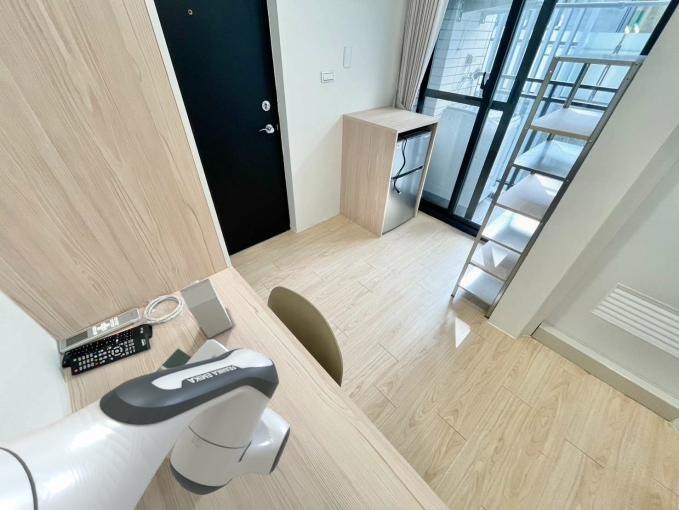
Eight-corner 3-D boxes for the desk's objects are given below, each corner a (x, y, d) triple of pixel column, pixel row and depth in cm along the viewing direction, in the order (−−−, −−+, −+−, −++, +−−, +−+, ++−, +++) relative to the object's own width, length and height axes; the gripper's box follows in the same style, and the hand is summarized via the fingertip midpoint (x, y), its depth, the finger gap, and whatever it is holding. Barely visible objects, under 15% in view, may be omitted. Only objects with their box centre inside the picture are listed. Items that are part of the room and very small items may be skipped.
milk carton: (232, 326, 81) (212, 286, 68) (208, 338, 78) (182, 299, 65) (225, 310, 85) (204, 269, 72) (202, 321, 83) (176, 281, 69)
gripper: (242, 349, 54) (191, 323, 58) (153, 465, 41) (96, 420, 45) (250, 363, 58) (202, 338, 62) (171, 471, 45) (117, 430, 49)
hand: (157, 373), depth 54 cm, fingers closed
